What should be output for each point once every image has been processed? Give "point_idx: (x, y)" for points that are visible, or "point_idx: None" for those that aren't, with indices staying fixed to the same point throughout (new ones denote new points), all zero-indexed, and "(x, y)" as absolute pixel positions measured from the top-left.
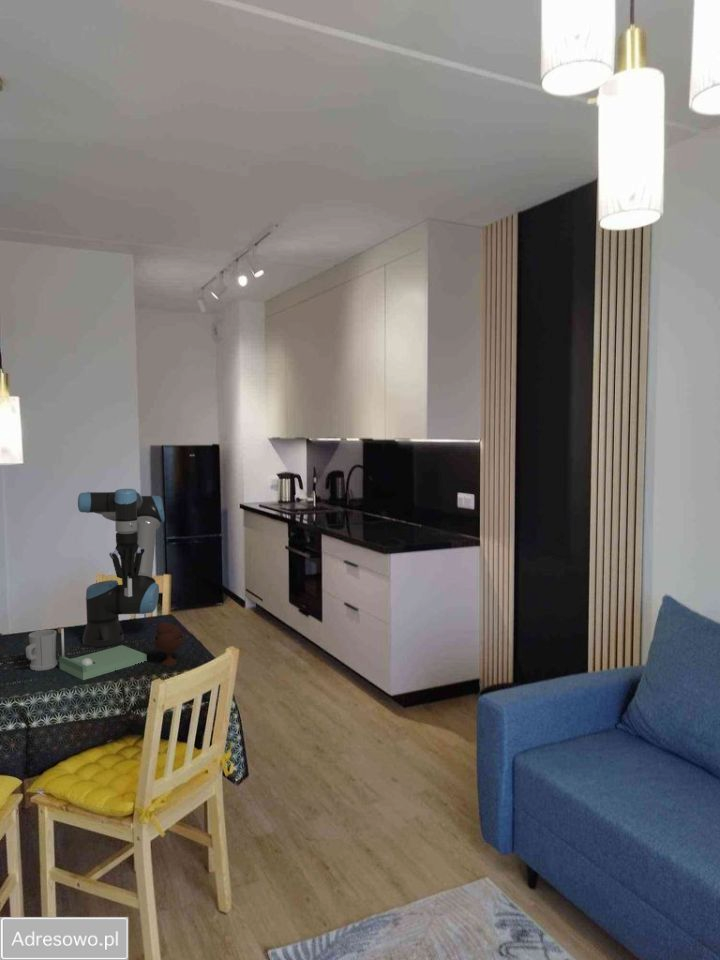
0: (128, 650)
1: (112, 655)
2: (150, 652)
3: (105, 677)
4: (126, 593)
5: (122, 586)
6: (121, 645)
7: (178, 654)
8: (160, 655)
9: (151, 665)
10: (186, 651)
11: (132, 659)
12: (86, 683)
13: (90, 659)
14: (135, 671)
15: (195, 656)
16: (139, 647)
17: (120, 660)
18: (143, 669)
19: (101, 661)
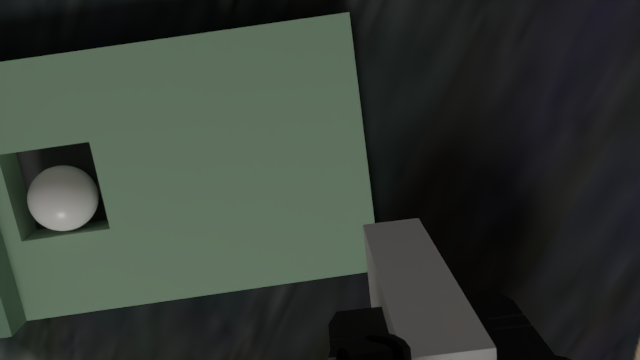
0: (333, 140)
1: (225, 163)
2: (458, 137)
3: (125, 335)
4: (372, 290)
5: (331, 321)
6: (342, 16)
7: (547, 265)
8: (472, 219)
9: None
10: (603, 250)
11: (292, 279)
12: (28, 351)
13: (73, 215)
14: (268, 350)
15: (588, 345)
16: (457, 5)
17: (229, 270)
18: (309, 349)
19: (140, 220)
